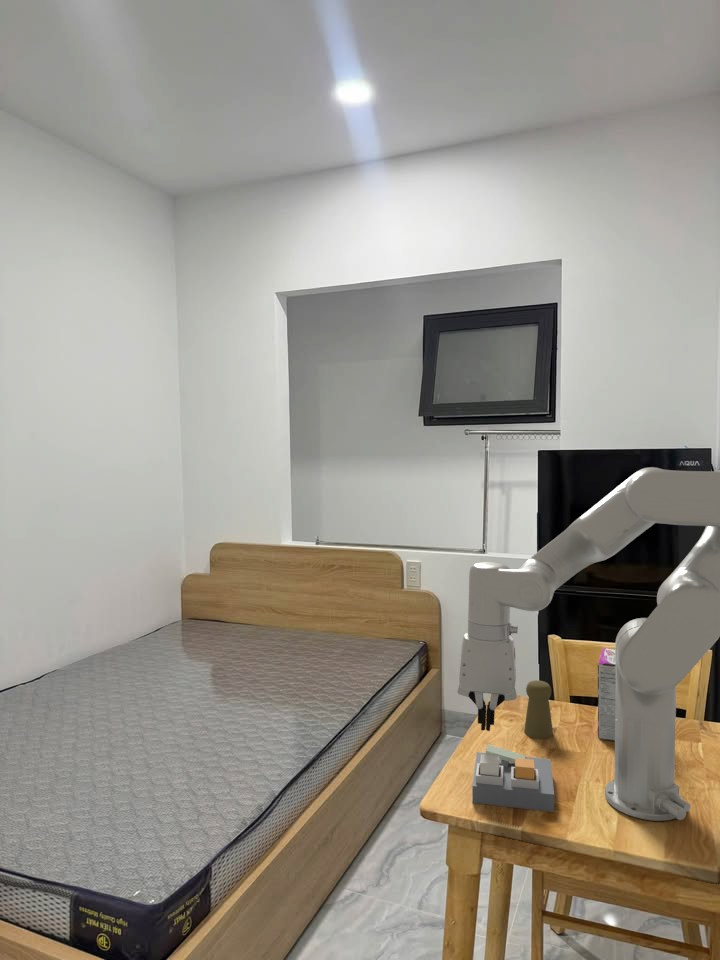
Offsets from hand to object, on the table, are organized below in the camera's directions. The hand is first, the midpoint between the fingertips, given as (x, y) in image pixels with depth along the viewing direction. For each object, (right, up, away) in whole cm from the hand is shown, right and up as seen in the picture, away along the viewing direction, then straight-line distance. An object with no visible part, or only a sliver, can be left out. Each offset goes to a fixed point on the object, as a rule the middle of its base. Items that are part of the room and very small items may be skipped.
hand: (485, 727), depth 124 cm
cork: (+15, -9, +19) cm, 26 cm away
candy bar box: (+31, -8, +20) cm, 38 cm away
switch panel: (+4, -10, -4) cm, 11 cm away
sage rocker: (+3, -5, -1) cm, 6 cm away
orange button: (+5, -6, -7) cm, 11 cm away
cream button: (0, -6, -6) cm, 8 cm away
